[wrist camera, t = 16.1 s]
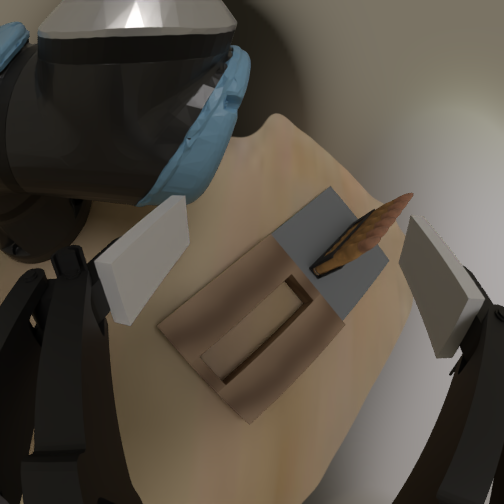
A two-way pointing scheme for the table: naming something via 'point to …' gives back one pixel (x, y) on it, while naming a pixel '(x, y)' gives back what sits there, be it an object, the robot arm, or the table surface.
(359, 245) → the ammunition clip
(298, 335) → the walnut caddy
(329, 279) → the slate mat
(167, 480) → the table surface
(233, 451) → the table surface
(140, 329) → the table surface
